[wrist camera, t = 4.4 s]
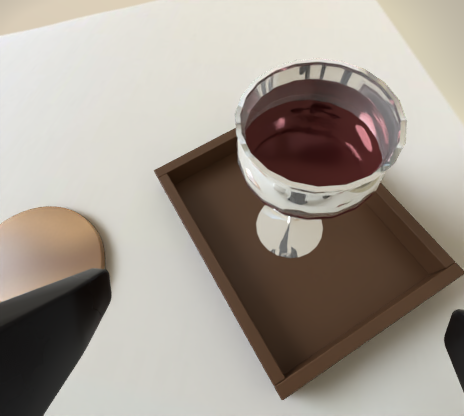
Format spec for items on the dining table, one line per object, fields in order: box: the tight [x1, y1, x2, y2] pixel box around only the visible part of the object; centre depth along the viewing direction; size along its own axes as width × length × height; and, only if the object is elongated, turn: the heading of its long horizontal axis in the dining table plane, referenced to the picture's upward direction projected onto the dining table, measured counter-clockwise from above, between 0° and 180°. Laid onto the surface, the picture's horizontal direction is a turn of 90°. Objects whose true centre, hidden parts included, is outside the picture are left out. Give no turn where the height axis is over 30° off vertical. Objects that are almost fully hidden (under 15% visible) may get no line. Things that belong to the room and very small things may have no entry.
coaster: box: [0, 207, 105, 302], centre depth 23 cm, size 11×11×1 cm
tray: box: [154, 128, 464, 400], centre depth 22 cm, size 18×14×2 cm
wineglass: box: [235, 58, 407, 258], centre depth 17 cm, size 7×7×12 cm
